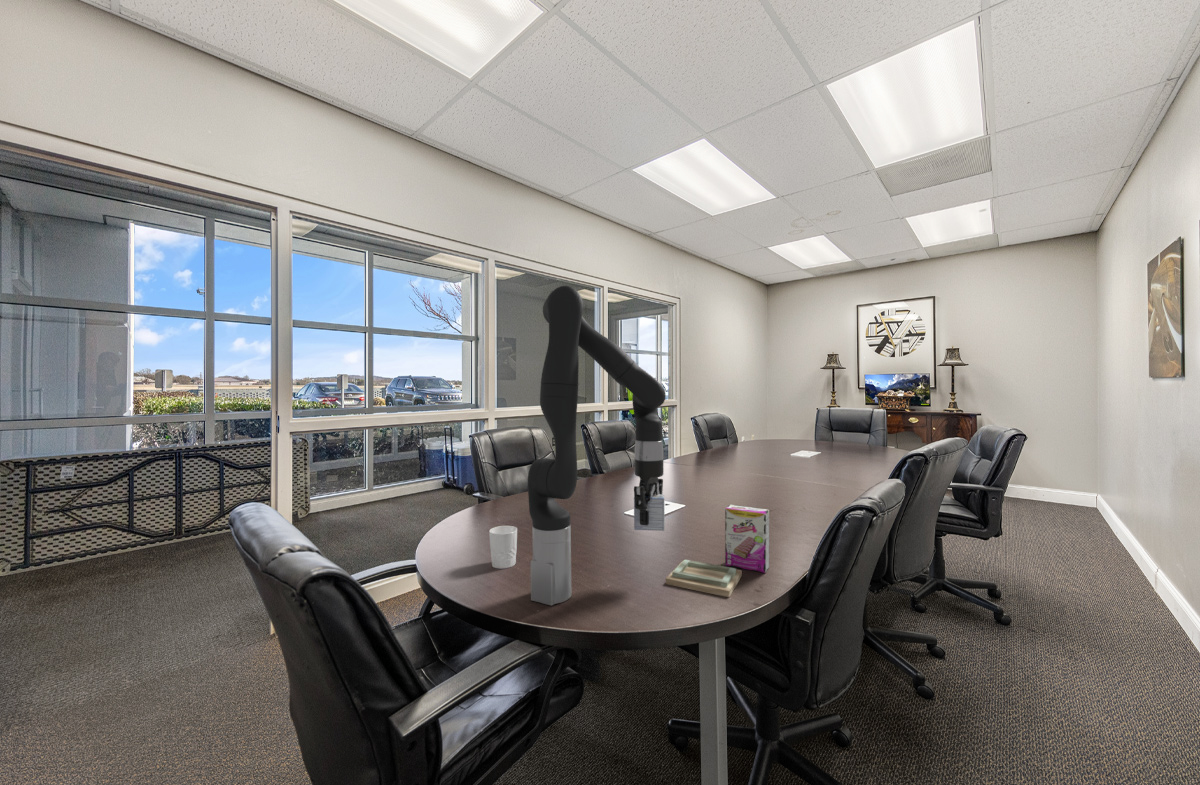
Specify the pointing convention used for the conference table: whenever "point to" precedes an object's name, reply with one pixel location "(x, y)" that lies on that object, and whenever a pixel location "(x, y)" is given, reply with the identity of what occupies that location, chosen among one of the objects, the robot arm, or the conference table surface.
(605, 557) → the conference table surface
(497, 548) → the white cup
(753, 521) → the candy bar box
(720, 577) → the locating plate
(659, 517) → the medicine box
